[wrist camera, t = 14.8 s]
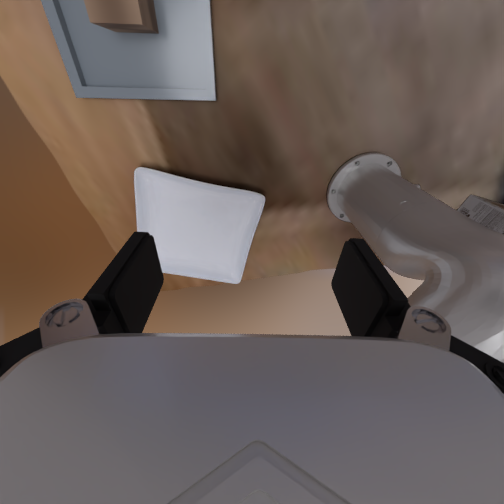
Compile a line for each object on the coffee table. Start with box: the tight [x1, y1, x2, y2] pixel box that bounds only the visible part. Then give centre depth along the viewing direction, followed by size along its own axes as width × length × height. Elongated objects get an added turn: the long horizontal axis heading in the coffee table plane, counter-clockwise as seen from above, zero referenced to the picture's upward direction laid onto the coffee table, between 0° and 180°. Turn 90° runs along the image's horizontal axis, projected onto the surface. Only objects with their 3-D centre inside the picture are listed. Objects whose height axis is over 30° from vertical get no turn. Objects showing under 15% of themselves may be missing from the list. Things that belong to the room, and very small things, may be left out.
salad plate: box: [134, 167, 265, 284], centre depth 44 cm, size 21×21×3 cm
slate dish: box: [41, 0, 217, 101], centre depth 26 cm, size 18×18×2 cm
